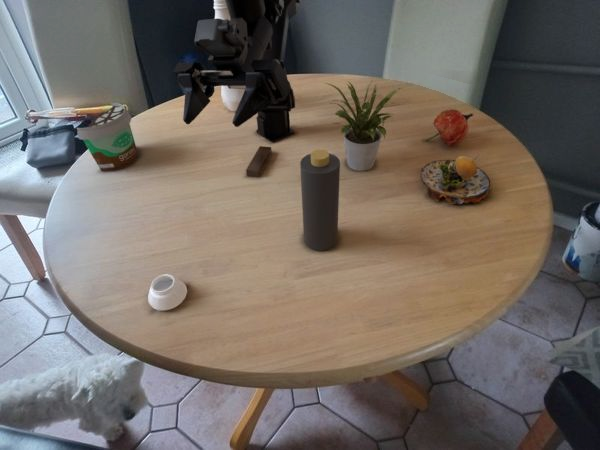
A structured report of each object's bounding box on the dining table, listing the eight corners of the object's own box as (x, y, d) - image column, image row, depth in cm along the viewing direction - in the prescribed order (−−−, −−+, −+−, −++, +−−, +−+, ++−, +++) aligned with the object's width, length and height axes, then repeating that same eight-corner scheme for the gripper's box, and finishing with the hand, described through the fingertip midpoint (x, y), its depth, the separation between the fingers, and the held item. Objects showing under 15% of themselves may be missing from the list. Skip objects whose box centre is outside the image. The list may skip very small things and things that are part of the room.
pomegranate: (432, 160, 77) (481, 138, 71) (415, 131, 75) (464, 105, 69) (435, 146, 83) (481, 125, 77) (419, 118, 80) (465, 94, 75)
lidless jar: (194, 288, 51) (165, 278, 53) (189, 274, 49) (159, 264, 51) (172, 317, 48) (142, 305, 50) (166, 303, 46) (134, 291, 48)
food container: (124, 177, 73) (104, 131, 66) (96, 175, 74) (74, 129, 67) (154, 146, 82) (139, 102, 75) (129, 144, 83) (112, 101, 76)
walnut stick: (260, 152, 78) (259, 146, 77) (271, 153, 78) (270, 146, 77) (247, 176, 72) (245, 169, 71) (258, 177, 71) (257, 170, 70)
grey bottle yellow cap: (322, 223, 60) (321, 140, 50) (344, 240, 57) (348, 154, 47) (297, 238, 58) (291, 153, 48) (318, 256, 55) (317, 170, 45)
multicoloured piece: (453, 161, 72) (463, 125, 67) (503, 192, 64) (518, 154, 60) (404, 178, 69) (410, 142, 64) (451, 214, 61) (462, 176, 56)
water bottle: (250, 112, 93) (234, -3, 76) (221, 113, 93) (199, -1, 76) (253, 100, 98) (238, -10, 81) (226, 101, 98) (206, -8, 82)
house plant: (306, 174, 71) (303, 90, 60) (332, 141, 80) (334, 63, 69) (378, 191, 66) (389, 103, 55) (398, 153, 75) (410, 71, 64)
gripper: (173, 6, 57) (126, 83, 52) (278, -7, 49) (235, 82, 44) (211, 63, 67) (174, 133, 61) (304, 60, 59) (271, 140, 54)
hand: (209, 123), depth 55 cm, fingers open, 9 cm apart
